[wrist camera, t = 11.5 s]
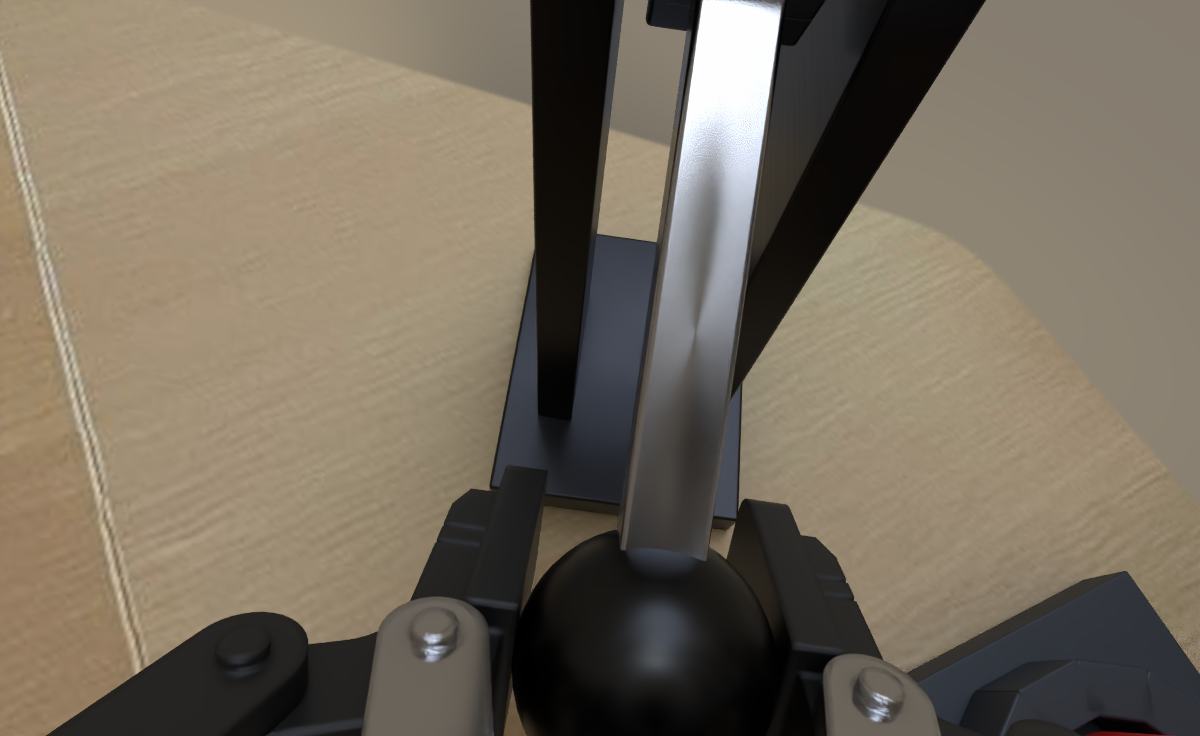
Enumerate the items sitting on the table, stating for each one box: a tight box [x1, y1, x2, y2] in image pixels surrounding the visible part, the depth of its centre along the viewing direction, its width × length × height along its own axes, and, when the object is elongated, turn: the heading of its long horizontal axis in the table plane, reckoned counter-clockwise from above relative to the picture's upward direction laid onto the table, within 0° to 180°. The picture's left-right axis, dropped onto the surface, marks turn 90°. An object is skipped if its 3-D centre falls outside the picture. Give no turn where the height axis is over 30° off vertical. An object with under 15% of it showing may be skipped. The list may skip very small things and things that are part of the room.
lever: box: [512, 0, 826, 736], centre depth 9 cm, size 13×3×3 cm, turn 174°
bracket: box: [489, 0, 986, 530], centre depth 15 cm, size 9×7×17 cm
